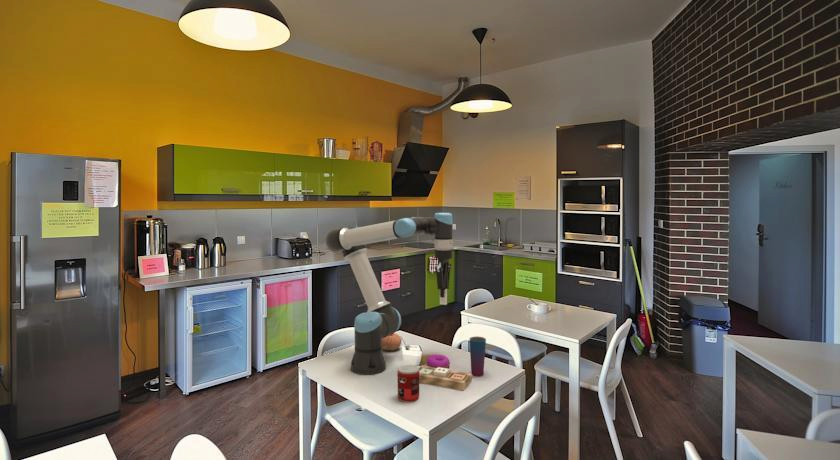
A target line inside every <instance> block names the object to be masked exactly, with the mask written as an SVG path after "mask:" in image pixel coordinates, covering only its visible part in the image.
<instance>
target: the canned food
mask: <svg viewBox="0 0 840 460" xmlns="http://www.w3.org/2000/svg"><path fill="white" fill-rule="evenodd" d="M419 367H420V366H417V365H414V364H413V365H412V364H402V365H401V366H399V367H397V397H398V400H400V401H402V402H405V403H408V402H409V403H411V402H415V401H417V400H418V399H419V397H420V383H419Z"/></svg>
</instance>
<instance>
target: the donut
mask: <svg viewBox="0 0 840 460" xmlns="http://www.w3.org/2000/svg"><path fill="white" fill-rule="evenodd" d="M450 365H451V361H450V359H449V357H448V356H445V355H443V354H437V353H434V354H431V355H429V356H428V357H427V358H426V366H428V367H434V368H438V367H441V368H447V369H448V367H449V366H450Z"/></svg>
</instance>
